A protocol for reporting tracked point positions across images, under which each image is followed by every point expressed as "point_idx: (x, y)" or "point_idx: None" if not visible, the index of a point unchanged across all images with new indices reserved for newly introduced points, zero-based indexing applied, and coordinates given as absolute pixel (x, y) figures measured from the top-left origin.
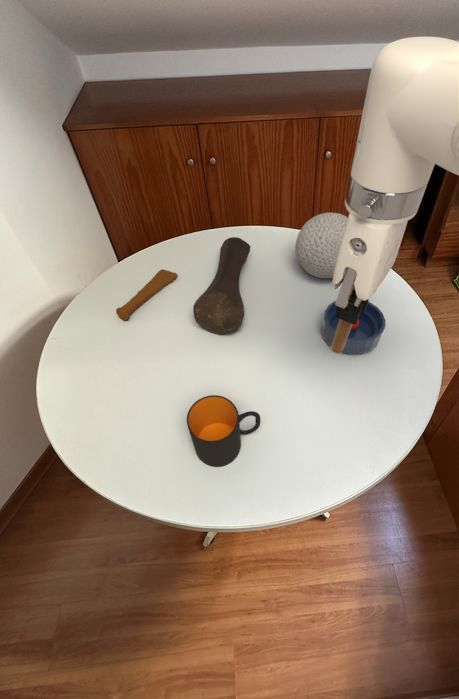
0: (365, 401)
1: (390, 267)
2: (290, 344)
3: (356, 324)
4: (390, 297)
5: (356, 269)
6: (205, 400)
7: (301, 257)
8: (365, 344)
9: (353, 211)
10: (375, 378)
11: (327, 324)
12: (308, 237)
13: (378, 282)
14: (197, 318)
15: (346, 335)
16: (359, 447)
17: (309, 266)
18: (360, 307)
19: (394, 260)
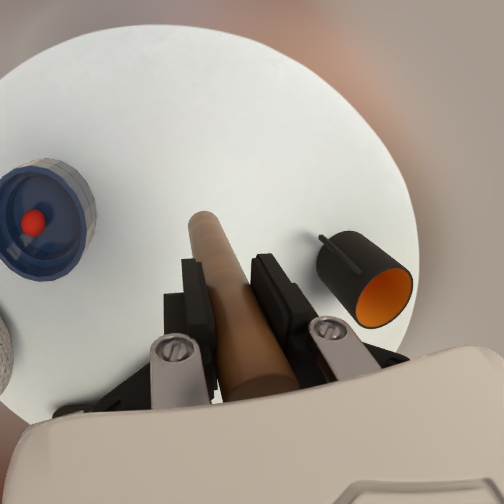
0: (163, 113)
1: (170, 444)
2: (134, 279)
3: (33, 215)
4: None
5: None
6: (360, 321)
7: (10, 370)
8: (66, 175)
9: None
10: (107, 122)
11: (77, 260)
12: None
13: (459, 410)
14: (211, 402)
15: (223, 237)
16: (252, 88)
17: (9, 350)
18: (304, 304)
19: (72, 452)
